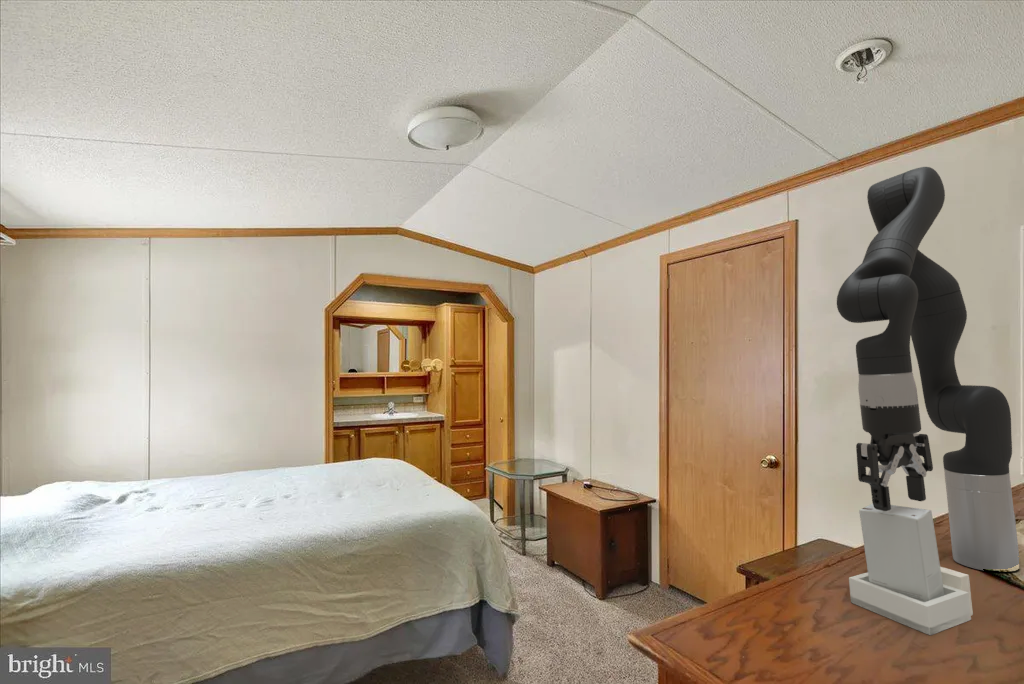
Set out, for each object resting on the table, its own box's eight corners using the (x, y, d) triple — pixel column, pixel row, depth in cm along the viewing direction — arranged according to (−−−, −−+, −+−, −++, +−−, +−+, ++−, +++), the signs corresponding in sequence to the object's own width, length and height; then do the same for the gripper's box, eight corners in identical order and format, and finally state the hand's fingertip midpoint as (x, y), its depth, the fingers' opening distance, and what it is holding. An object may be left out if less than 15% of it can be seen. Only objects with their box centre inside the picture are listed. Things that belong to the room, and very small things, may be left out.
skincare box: (947, 608, 78) (937, 510, 79) (930, 621, 75) (920, 518, 76) (884, 590, 86) (875, 499, 86) (866, 600, 82) (858, 506, 83)
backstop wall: (902, 590, 88) (899, 554, 88) (972, 615, 78) (968, 574, 79) (895, 592, 87) (891, 556, 87) (964, 618, 77) (960, 577, 78)
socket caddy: (890, 590, 88) (887, 566, 88) (971, 619, 77) (968, 592, 77) (851, 602, 84) (848, 577, 84) (930, 635, 73) (927, 606, 73)
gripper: (892, 396, 88) (903, 492, 87) (834, 405, 82) (846, 507, 82) (942, 398, 81) (955, 502, 80) (883, 407, 75) (896, 519, 75)
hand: (900, 504), depth 81 cm, fingers open, 8 cm apart
